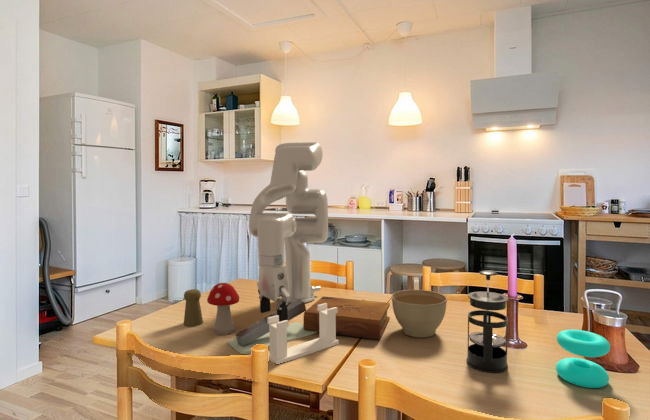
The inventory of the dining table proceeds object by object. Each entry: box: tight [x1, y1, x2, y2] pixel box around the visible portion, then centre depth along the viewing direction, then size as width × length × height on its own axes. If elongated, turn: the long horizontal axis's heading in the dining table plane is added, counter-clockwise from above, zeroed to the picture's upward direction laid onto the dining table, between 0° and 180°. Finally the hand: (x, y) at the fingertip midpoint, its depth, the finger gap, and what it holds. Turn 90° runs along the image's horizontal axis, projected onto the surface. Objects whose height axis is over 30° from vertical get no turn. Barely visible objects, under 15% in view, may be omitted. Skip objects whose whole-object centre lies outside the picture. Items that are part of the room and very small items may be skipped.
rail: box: [234, 299, 307, 347], centre depth 113 cm, size 22×3×3 cm, turn 127°
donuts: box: [555, 328, 611, 389], centre depth 87 cm, size 10×10×10 cm
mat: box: [226, 321, 318, 355], centre depth 113 cm, size 24×10×1 cm, turn 128°
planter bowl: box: [390, 289, 448, 338], centre depth 116 cm, size 16×16×11 cm
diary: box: [303, 296, 391, 340], centre depth 122 cm, size 23×19×6 cm
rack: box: [267, 303, 340, 365], centre depth 104 cm, size 20×5×10 cm, turn 128°
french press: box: [466, 270, 509, 374], centre depth 94 cm, size 12×9×23 cm
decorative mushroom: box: [206, 282, 240, 335], centre depth 118 cm, size 10×9×15 cm
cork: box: [183, 288, 204, 328], centre depth 126 cm, size 6×6×11 cm
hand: (273, 316), depth 114 cm, fingers open, 9 cm apart
